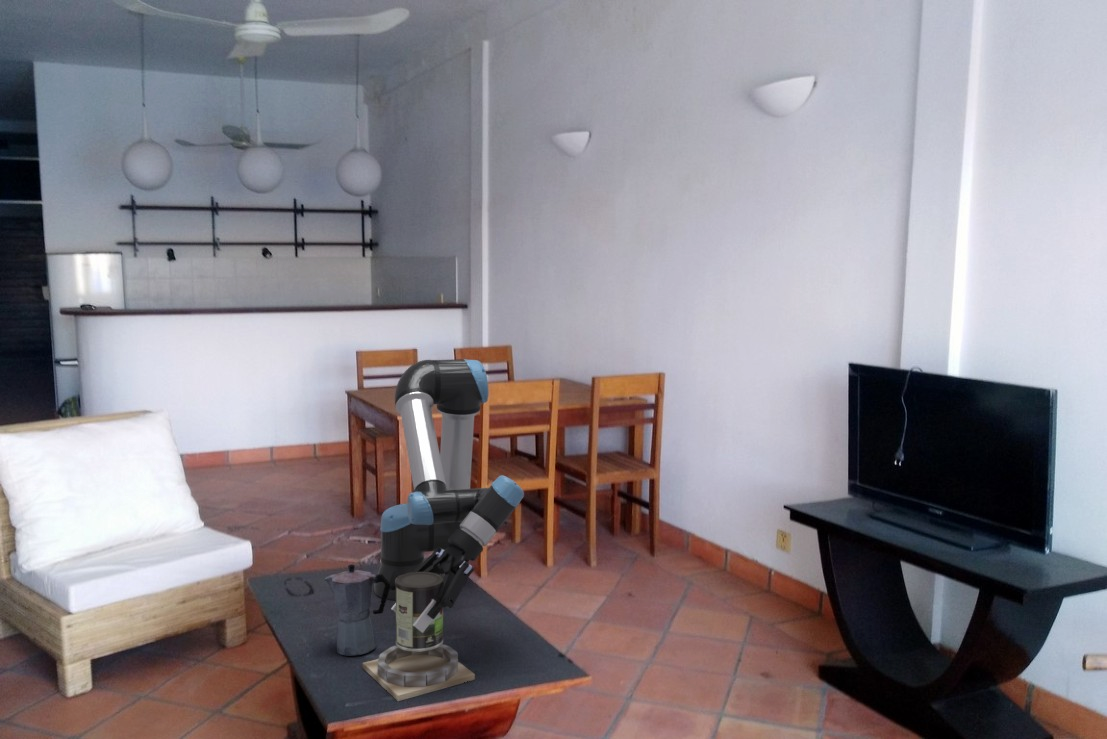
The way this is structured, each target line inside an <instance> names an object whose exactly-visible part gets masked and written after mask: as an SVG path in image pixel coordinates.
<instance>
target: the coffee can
mask: <svg viewBox="0 0 1107 739" xmlns="http://www.w3.org/2000/svg"><path fill="white" fill-rule="evenodd" d="M443 579H444V576H442V574H436V573H432V572H412V573H407V574H403V575H401V576H399V577H397V578H396V579H395V584H396V600H395V603H396V613H395V646H397V647H398V648H400V649H402V650H405V651H411V652H423V651H429V650H433V649H436V648H438V647H439V646H441V645H442V644H443V643H444V608H442V610H441V611H440V612H439V613H438V615H437V616H436V617H435V618H434V619H433V620H432V621H431V623H430V624H429V625H428V627H427V628H426V629H425V631H424V632H423V633H422V632H421V631H419V630H418V629H417V628H416V627H415V626H413V624H414V623H415V621H416V620H417V619H418V618H419V616H420V615H421V614H422V612H423V611H424V610H425V608H426V607H427V606H428V605H429V603H430V602H431V601H432V599H433V600H434V598H435V597H437V595H438V593H439V590H440V587H441V585H442V582H443ZM434 601H435V600H434ZM436 602H437V601H436Z"/></svg>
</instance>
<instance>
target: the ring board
mask: <svg viewBox="0 0 1107 739" xmlns="http://www.w3.org/2000/svg"><path fill="white" fill-rule="evenodd" d="M458 657H459V653H458V652H457V651H456V650H455V649H454V648H452V647H451V646H449V645H446V644H443V643H442V645H441V646H439V647H438V648H436V649H433V650H429V651H423V652H411V651H405V650H402V649H400V648H398V647H397V646H396V645H392V646H390V647H389V648H387V649H385V650H384V651H383V652H381V653H380V654H379V656H378V658H376V659H373V660H368V661H365V662H362V669H363V670H364V671H365V672H366V673H368V674H369V675H370V676H371V678H373V679H374V680H375V681H376V683H378V684H379V685H380V686H381V687H382V688H383V689H384V690H385V691H386V690H387V691H386V692H387V693H389V694H390V695H391V697H393V698H394V700H396V701H397V702H400V701H404V700H408V699H412V698H414V697H415V698H416V697H418V696H422V695H425V694H429V693H432V692H437V691H440V690H443V689H447V688H450V687H453V686H457V685H460V684H464V682H465V683H468V682H471V681H474V680H476V674H475V673H474V672H473V671H472V670H470V669H469V668H467V667H466V666H465V665H464V664H463V663H461V662H460V661H459V658H458ZM467 681H468V682H467Z"/></svg>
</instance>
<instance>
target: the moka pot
mask: <svg viewBox="0 0 1107 739" xmlns="http://www.w3.org/2000/svg"><path fill="white" fill-rule="evenodd" d="M355 567H356V565H355V564H349V565H347V569H348V570H346V571H341V572H339V573H335V574H329V575H328V576H327V577H325V579H324V581H326V582H327V584H328V586H329V588H330V590H331V592H332V593H333V595H334V600H335V606H336V611H337V617H338V626H337V640H336V652H337V653H338V654H339V655H341V656H345V657H349V656H350V657H351V656H352V657H354V656H360V655H365V654H367V653H370V652H371V651H373V650H375V649H376V642H375V638H374V632H373V628H372V627H373V626H372V621H371V616H370V615H371V614H370V613H371V609H370V608H371V604H372V590H373V584H375V583H378V582H383V583H384V584H385V587H384V591H383V595H382V597H381V599H380V605H379V606H378V609H373V610H372V614H373V615H379V614H383V613H384V608H385V607H386V602H387V600H388V599H387V596H388V593H389V590H390V583H389V582H388V580H387V579H385V577H384V576H383V574H378V573H377V574H378V575H377V574H374V573H371V571H368V570H367V571H365V570H361V569H360V570H359V569H356V570H355Z"/></svg>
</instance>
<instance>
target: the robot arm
mask: <svg viewBox="0 0 1107 739" xmlns="http://www.w3.org/2000/svg"><path fill="white" fill-rule="evenodd" d="M489 394H490V390H489V382H488V376H487V372H486V369H485V367H484V365H483V364H482V362H481V361H480V360H477V359H466V358H463V359H462V358H460V359H457V358H456V359H424V360H420V361H417V362H416V363H415V362H414V363H413V364H412V365H410V366H409V367H408V368H407V369H406V370H405V371H404V373H403V374H402V375H401V376H400V378H399V380H398V382H397V384H396V387H395V390H394V404H395V405H394V406H395V411H396V412H397V413H398V415H400V417H401V421H402V428H403V433H404V440H405V444H406V445H405V446H406V450H407V457H408V462H409V463H408V464H409V469H410V473H411V479H412V486H413V492H410V493H409V494H408V496H407V499H406V500H407V502H406V503H399V504H397V505H392V506H391V507H389V508H387V509H385V510H384V511H383V513H382V515H381V518H380V519H381V520H380V527H379V528H380V529H379V530H380V566H379V568H378V570H377V571H378V572H377V574H376V575H378V574H383V576H384V577H385V579H387V580H388V582H389V583H390V590H389V593H388V596H387V599H386V600H395V601H396V584H395V579H396V578H397V577H399V576H401V575H403V574H407V573H412V572H432V573H436V574H439V575H444V576H443V578H444V579H443V582H442V585H441V587H440V590H439V593H438V595H437V597H435V598H434V600H435V601H434V600H433V599H432V601H431V602H430V603H429V605H428V606H427V607H426V608H425V610H424V611H423V612H422V614H421V615H420V616H419V618H418V619H417V620H416V621H415V623H414V624H413V626H415V627H416V628H417V629H418V630H419V631H421V632H422V633H423V632H424V631H425V629H426V628H427V627H428V625H429V624H430V623H431V621H432V620H433V619H434V618H435V617H436V616H437V615H438V613H439V612H440V611H441V610H442V608H443V609H445V608H447V607H448V608H449V609H451V608H452V607H454V605H455V602H456V601H457V599H458V597H459V595H460V594H461V592H462V591H463V590H462V589H463V588H464V587H465V584H466V582H467V580H468V578H469V577H470V576H471V574H473V572H474V571H475V568H474V566H473V565H471V564H470V563H469V562H470V561H471V562H474V561H475V562H476V560H477V559H478V558H479V557H480V555H481V554H482V552H483V550H484V547H486V546H487V545H488V544H489V542H491V540H492V539H493V538H494V536H495V535H496V534H497V532H498V531H499V529H501V527H502V526H503V525H504V523H506V521H507V519H509V517H510V516H511V514H512V513H513V512H514V510H515V509H516V508H518V507H519V504H520V502H521V501H522V500H523V498H524V496H525V492H524V490H523V488H522V487H520V485H518V483H517V482H516V481H514V480H513V479H511V478H510V477H509V476H508V477H507V476H505V475H503V474H502V475H499V476H498V477H496V479H495V480H494V481H493V482H491V485H490V486H489V487H479V488H471V480H472V478H471V477H472V476H471V475H472V462H473V461H472V459H473V446H474V445H473V444H474V426H475V416H477V414H479V413H480V412H481V404H483V405H484V404H485V403H487V402H488V400H489ZM435 405H436V410H437V411H438V413H439V414H441V431H440V432H441V433H440V447H439V443H438V439H437V433H436V432H437V431H436V428H435V423H434V418H433V413H432V409H433V407H434V406H435ZM439 448H440V449H439ZM427 552H429V553H430V552H432V553H431V554H430V556H428V557H427V558H425V553H427ZM373 584H374V585H373V587H374V591H373V592H374V594H375V595H376V596H377V597H380V598H382V595H383V591H384V587H385V584H384V583H383V582H378V583H373ZM436 601H437V602H436ZM390 609H391V610H392V611H393V612H394V614H396V602H395V603H394V604H393V605H392V607H391V608H390Z"/></svg>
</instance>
